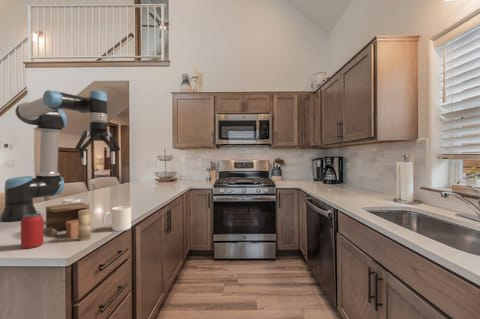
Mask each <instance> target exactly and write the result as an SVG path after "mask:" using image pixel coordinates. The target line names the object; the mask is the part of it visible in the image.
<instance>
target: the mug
mask: <svg viewBox="0 0 480 319" xmlns="http://www.w3.org/2000/svg"><path fill="white" fill-rule="evenodd" d="M77 202H81V198H78V197H75V198H65V199H64V198H63V199H62V200H61V205H62V204H70V203H77Z"/></svg>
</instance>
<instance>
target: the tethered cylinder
mask: <svg viewBox="0 0 480 319" xmlns="http://www.w3.org/2000/svg"><path fill="white" fill-rule="evenodd" d="M65 230H66V231H65V235H66V237H68V238H70V239H74V238H78V241H79V242H85V241H88V240H90V239H91V209H89V210H88V209H87V210H80V211H78V220H73V221H68V222H66V229H65Z"/></svg>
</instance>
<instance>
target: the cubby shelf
mask: <svg viewBox="0 0 480 319" xmlns="http://www.w3.org/2000/svg"><path fill="white" fill-rule="evenodd" d="M87 209H88V210H90V204H88V203H84V202H77V203H70V204H62V203H61V204H54V205H49V206H45V232H46V233H47V234H49V236H52V238H53V237H58V231H60V230H66V222H68V221H73V220H78V211H80V210H87Z"/></svg>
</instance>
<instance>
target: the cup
mask: <svg viewBox="0 0 480 319" xmlns="http://www.w3.org/2000/svg"><path fill="white" fill-rule="evenodd" d="M108 215H111V223H110V224H108V223H107V222H106V221H107V216H108ZM102 223H103V226H105V227H106V228H111V230H112V231H113V232H124V231H128V230H130V229H131V228H132V206H129V205H122V206H121V205H120V206H114V207H112V208H111V211H107V212H105V213H104V214H103V218H102Z"/></svg>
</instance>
